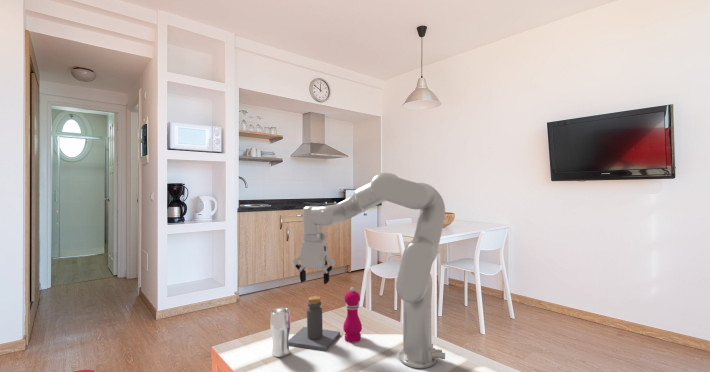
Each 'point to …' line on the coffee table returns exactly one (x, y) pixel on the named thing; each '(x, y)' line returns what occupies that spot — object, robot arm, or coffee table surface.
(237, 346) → the coffee table surface
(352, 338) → the pepper mill
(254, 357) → the coffee table surface
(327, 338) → the mat
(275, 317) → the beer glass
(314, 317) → the bottle
